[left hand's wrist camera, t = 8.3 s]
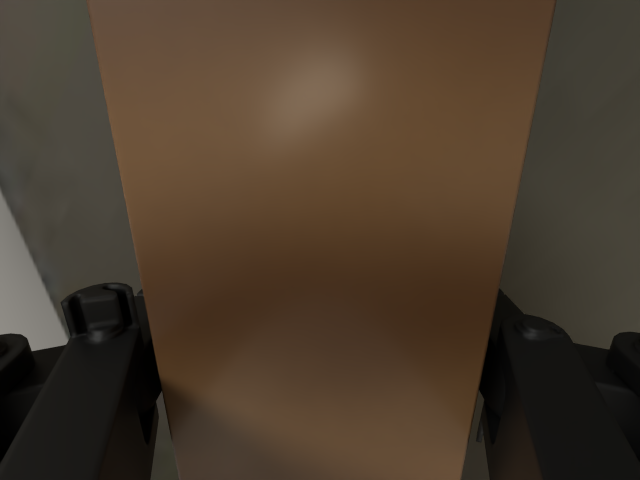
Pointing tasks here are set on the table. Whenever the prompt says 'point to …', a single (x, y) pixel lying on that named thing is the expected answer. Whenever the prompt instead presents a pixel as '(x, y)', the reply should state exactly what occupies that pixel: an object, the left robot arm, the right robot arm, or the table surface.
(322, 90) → the beam
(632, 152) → the table surface
